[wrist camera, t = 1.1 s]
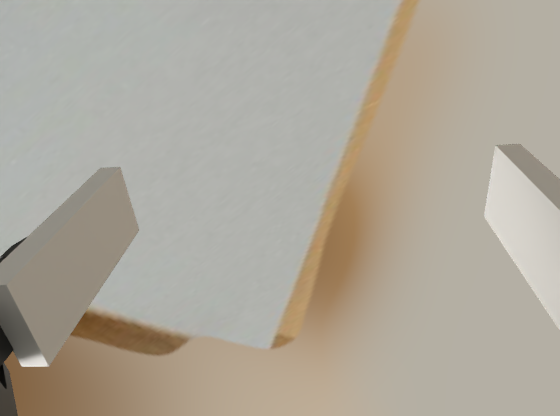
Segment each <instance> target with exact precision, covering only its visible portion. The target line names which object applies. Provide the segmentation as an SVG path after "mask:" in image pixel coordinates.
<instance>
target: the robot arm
mask: <svg viewBox="0 0 560 416" xmlns="http://www.w3.org/2000/svg"><path fill="white" fill-rule="evenodd" d="M484 217H485V219H486V220H487V222H488V223H489V225H490V226H491V228H492V229H493V231H494V232H495V234H496V235H497V237H498V238H499V240H500V241H501V243H502V244H503V246H504V247H505V249H506V250H507V252H508V253H509V255H510V256H511V258H512V259H513V261H514V262H515V264H516V265H517V267H518V268H519V270H520V271H521V273H522V275H523V276H524V278H525V279H526V280H527V282H528V283H529V285H530V286H531V288H532V289H533V291H534V293H535V294H536V296H537V297H538V299H539V300H540V302H541V303H542V305H543V306H544V308H545V309H546V311H547V312H548V314H549V315H550V317H551V318H552V320H553V321H554V323H555V324H556V325H557V327H558V329H559V330H560V179H559V178H558V177H557V176H556V175H554V174H553V173H552V172H551V171H550V170H549V169H548V168H547V167H545V166H544V165H543V164H542V163H541V162H540V161H539V160H538V159H536V158H535V157H534V156H533V155H532V154H531V153H530V152H529V151H527V150H526V149H525V148H524V147H523V146H522V145H521V144H508V145H496V146H495V152H494V158H493V164H492V170H491V177H490V183H489V188H488V195H487V200H486V207H485V213H484ZM138 231H139V228H138V224H137V221H136V218H135V215H134V211H133V208H132V205H131V201H130V198H129V195H128V191H127V188H126V185H125V181H124V178H123V175H122V172H121V168H120V167H110V168H100V169H99V170H98V171H97V172H96V173H95V174H94V175H93V176H91V177H90V178H89V179H88V180H87V181H86V182H85V183H84V184H83V185H82V186H81V187H80V188H79V189H78V190H77V191H76V192H75V193H74V194H72V195H71V196H70V197H69V198H68V199H67V200H66V201H65V202H64V203H63V204H62V205H61V206H60V207H59V208H58V209H57V210H56V211H55V212H53V213H52V214H51V215H50V216H49V217H48V218H47V219H46V220H45V221H44V222H43V223H42V224H41V225H40V226H39V227H38V228H37V229H36V230H34V231H33V232H32V233H31V234H30V235H29V236H28V237H26V238H24V239H23V240H21V241H19V242H18V243H16V244H14V245H13V246H11V247H10V248H9V249H8V250H7V251H6V252H5V253H4V254H3V255H2V256H1V257H0V416H18V415H17V409H16V404H15V399H14V394H13V389H12V384H11V378H10V373H9V371H8V369H7V367H6V366H5V364H4V361H5V360H6V359H7V358H8V356H9V355H10V354H11V352H12V351H13V352H14V353H15V355H16V357H17V359H18V360H19V362H20V364H21V366H22V367H24V366H25V367H31V366H34V367H42V366H50V364H51V362H52V361H53V359H54V358H55V356H56V355H57V353H58V352H59V350H60V349H61V347H62V346H63V344H64V343H65V341H66V340H67V338H68V337H69V335H70V334H71V332H72V331H73V329H74V328H75V326H76V325H77V323H78V322H79V320H80V319H81V317H82V316H83V314H84V313H85V311H86V310H87V308H88V307H89V305H90V304H91V302H92V301H93V299H94V298H95V296H96V295H97V293H98V292H99V290H100V289H101V287H102V286H103V284H104V283H105V281H106V280H107V278H108V277H109V275H110V274H111V272H112V271H113V269H114V268H115V266H116V265H117V263H118V262H119V260H120V259H121V257H122V255H123V254H124V252H125V251H126V249H127V248H128V246H129V245H130V243H131V242H132V240H133V239H134V237H135V236H136V234H137V233H138Z"/></svg>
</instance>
